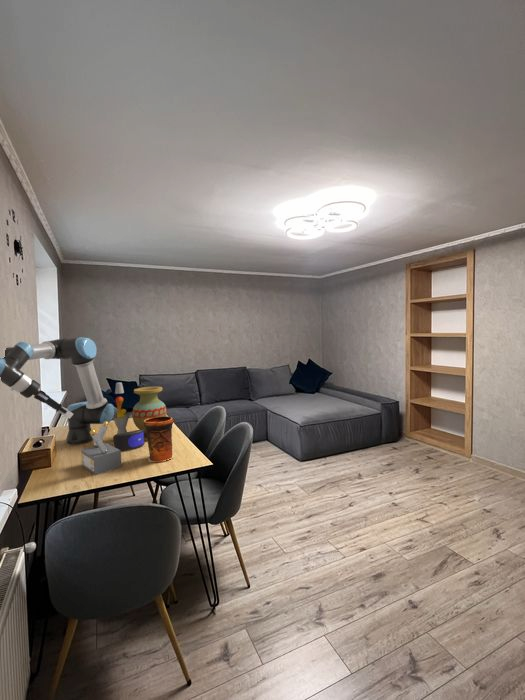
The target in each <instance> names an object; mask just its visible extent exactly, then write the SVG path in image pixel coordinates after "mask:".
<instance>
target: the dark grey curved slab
mask: <svg viewBox="0 0 525 700" xmlns="http://www.w3.org/2000/svg"><path fill="white" fill-rule="evenodd" d="M112 441H113V447H115V448H117V449H119V450H121V453H122V452H127V451H133V450H136V449H140V448H142V447H143V446H144V445H145V441H144V431H143V430H140V429H136V430H131V431H127V432H125V433H120V434H117V433H116V434H114V435H113V437H112Z"/></svg>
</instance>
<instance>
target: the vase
mask: <svg viewBox="0 0 525 700" xmlns="http://www.w3.org/2000/svg"><path fill="white" fill-rule="evenodd" d="M162 391H163V387H162V386H143V387H138V388H134V389H133V394H136V395H138V396H139V401H138V402H137V403H136V404H135V405H134V406H133V407H132V412H131V415H132V421H133V424H134V425H135V428H137V430H143V431H144V442H148V439H147V431H146V428H145V426H144V420H146V419H149V418H154V417H161V416H167V406H166V404H165V403H164V402H163V401H162V400H160V399H159V398H158V394H159V393H161V392H162Z"/></svg>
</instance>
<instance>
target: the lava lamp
mask: <svg viewBox="0 0 525 700" xmlns="http://www.w3.org/2000/svg"><path fill="white" fill-rule="evenodd" d="M124 393H125V391H124V386H123V383H122V382H116V383H115V391H114V394H116V395H117V394H124ZM115 403H116V409H117V415H113V418H112V420H113V422H114V424H115V426H116V427H117V432H116V434H120V433H125V432H128V431H127V426H128V422H129V418H130V415H129V414H127V410H126V409H125V408H122V404H123V403H124V397H122V396H117V397H115Z"/></svg>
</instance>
